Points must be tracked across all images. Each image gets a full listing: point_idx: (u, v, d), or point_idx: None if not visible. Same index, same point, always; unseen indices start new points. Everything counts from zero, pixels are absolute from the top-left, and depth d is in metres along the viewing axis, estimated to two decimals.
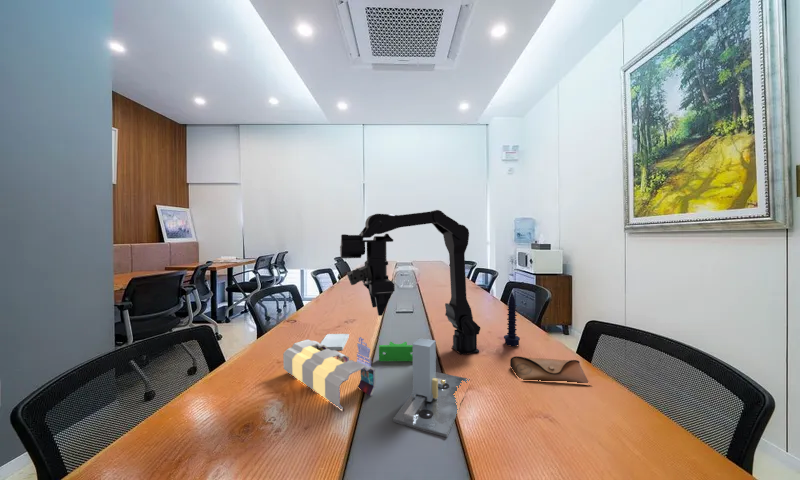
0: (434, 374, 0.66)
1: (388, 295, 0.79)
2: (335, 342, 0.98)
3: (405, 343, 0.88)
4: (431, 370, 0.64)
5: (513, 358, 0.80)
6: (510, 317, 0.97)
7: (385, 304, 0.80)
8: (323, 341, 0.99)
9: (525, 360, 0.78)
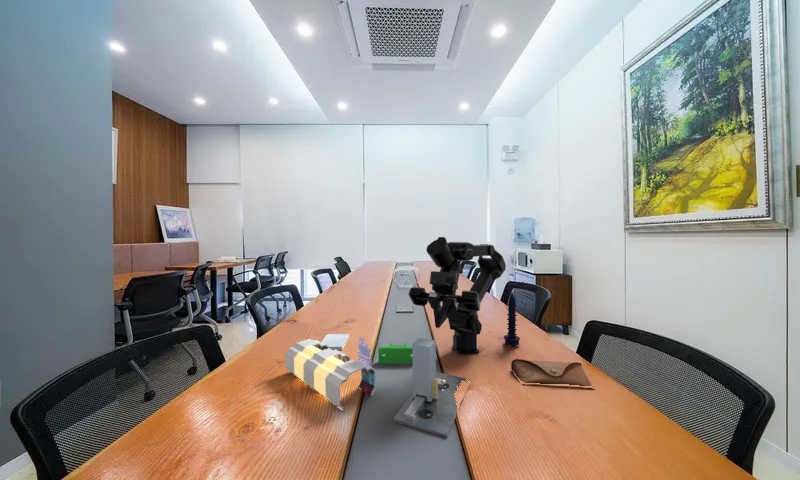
0: (434, 374, 0.66)
1: (451, 311, 0.78)
2: (335, 342, 0.98)
3: (405, 345, 0.86)
4: (431, 370, 0.64)
5: (514, 361, 0.78)
6: (510, 317, 0.97)
7: (445, 318, 0.77)
8: (323, 341, 0.99)
9: (526, 363, 0.77)
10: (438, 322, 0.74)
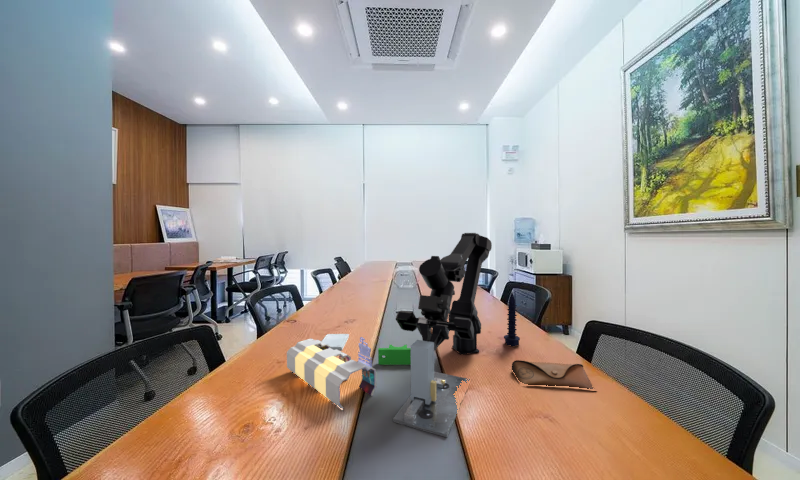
0: (432, 376, 0.65)
1: (441, 339, 0.71)
2: (335, 342, 0.98)
3: (405, 346, 0.86)
4: (430, 372, 0.63)
5: (515, 362, 0.78)
6: (510, 317, 0.97)
7: (435, 348, 0.69)
8: (323, 341, 0.99)
9: (527, 364, 0.76)
10: None
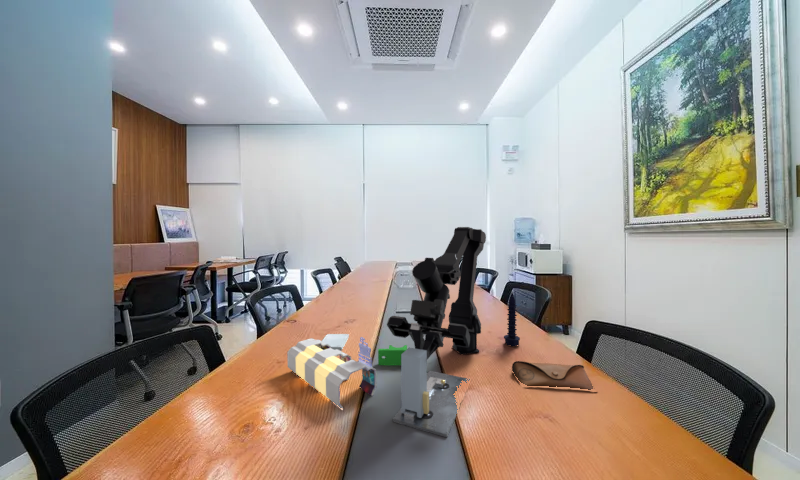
0: (425, 387, 0.61)
1: (435, 347, 0.67)
2: (335, 342, 0.98)
3: (405, 346, 0.85)
4: (422, 382, 0.59)
5: (515, 363, 0.77)
6: (510, 317, 0.97)
7: (429, 356, 0.65)
8: (323, 341, 0.99)
9: (527, 365, 0.76)
10: None
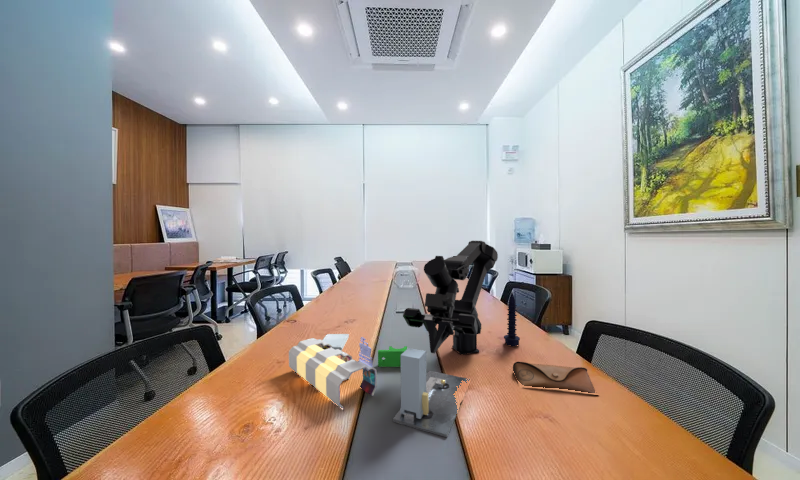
0: (424, 388, 0.60)
1: (447, 335, 0.75)
2: (335, 342, 0.98)
3: (405, 348, 0.84)
4: (421, 383, 0.59)
5: (516, 363, 0.77)
6: (510, 317, 0.97)
7: (441, 343, 0.73)
8: None
9: (528, 366, 0.75)
10: (433, 347, 0.71)
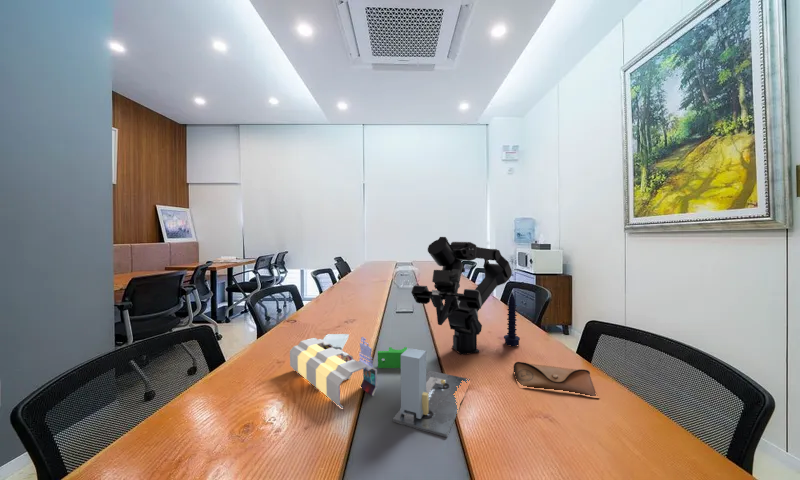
0: (424, 388, 0.60)
1: (452, 309, 0.80)
2: (335, 342, 0.98)
3: (405, 349, 0.84)
4: (421, 383, 0.59)
5: (516, 363, 0.77)
6: (510, 317, 0.97)
7: (447, 316, 0.78)
8: None
9: (528, 366, 0.75)
10: (440, 319, 0.76)
